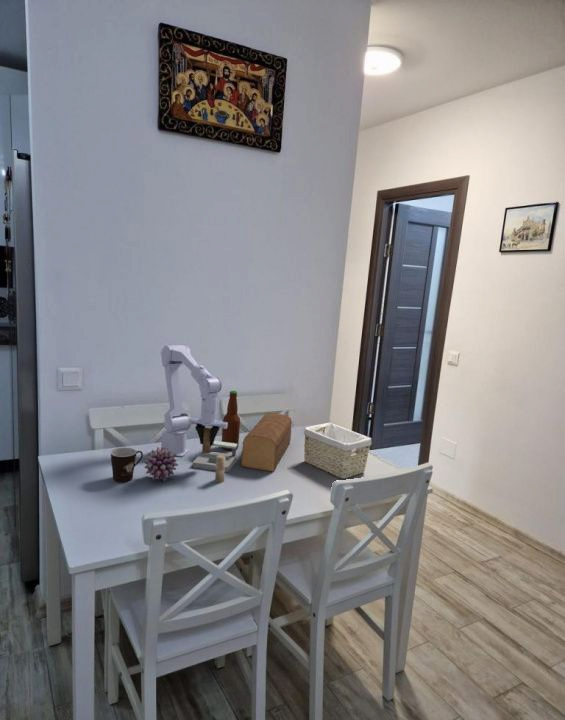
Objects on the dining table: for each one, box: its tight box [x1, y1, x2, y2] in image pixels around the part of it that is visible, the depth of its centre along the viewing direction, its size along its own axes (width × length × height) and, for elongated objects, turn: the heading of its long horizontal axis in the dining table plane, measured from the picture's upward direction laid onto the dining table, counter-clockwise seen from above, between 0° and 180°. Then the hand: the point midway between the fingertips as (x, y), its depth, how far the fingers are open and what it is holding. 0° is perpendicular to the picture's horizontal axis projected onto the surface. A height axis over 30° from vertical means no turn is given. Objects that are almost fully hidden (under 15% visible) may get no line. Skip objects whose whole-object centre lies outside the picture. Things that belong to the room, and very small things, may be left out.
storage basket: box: [303, 422, 372, 479], centre depth 195 cm, size 24×16×15 cm
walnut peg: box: [201, 427, 212, 453], centre depth 181 cm, size 3×3×9 cm
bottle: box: [221, 390, 241, 451], centre depth 205 cm, size 7×7×25 cm
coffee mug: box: [110, 447, 144, 484], centre depth 169 cm, size 12×9×10 cm
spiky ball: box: [143, 446, 179, 481], centre depth 170 cm, size 12×12×12 cm
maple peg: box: [214, 455, 226, 483], centre depth 173 cm, size 3×3×9 cm
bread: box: [240, 412, 293, 473], centre depth 202 cm, size 14×34×14 cm, turn 168°
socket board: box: [192, 440, 239, 473], centre depth 189 cm, size 14×13×7 cm
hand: (206, 444), depth 182 cm, fingers closed on walnut peg, 3 cm apart
